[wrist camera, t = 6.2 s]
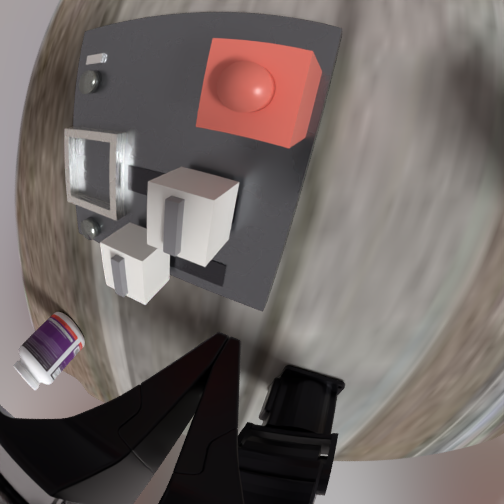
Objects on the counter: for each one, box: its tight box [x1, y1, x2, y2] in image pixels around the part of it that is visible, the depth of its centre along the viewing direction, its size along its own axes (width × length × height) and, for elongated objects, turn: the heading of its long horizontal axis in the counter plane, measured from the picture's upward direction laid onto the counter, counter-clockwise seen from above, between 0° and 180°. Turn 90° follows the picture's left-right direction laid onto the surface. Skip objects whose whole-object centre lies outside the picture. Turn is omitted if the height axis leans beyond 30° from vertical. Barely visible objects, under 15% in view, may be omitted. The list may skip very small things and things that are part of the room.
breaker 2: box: [147, 167, 239, 267], centre depth 15 cm, size 4×4×4 cm
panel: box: [64, 12, 342, 311], centre depth 17 cm, size 20×20×2 cm
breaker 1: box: [100, 222, 170, 305], centre depth 19 cm, size 4×4×4 cm
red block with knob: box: [196, 38, 322, 148], centre depth 11 cm, size 4×4×6 cm
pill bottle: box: [13, 312, 85, 390], centre depth 34 cm, size 8×8×14 cm
